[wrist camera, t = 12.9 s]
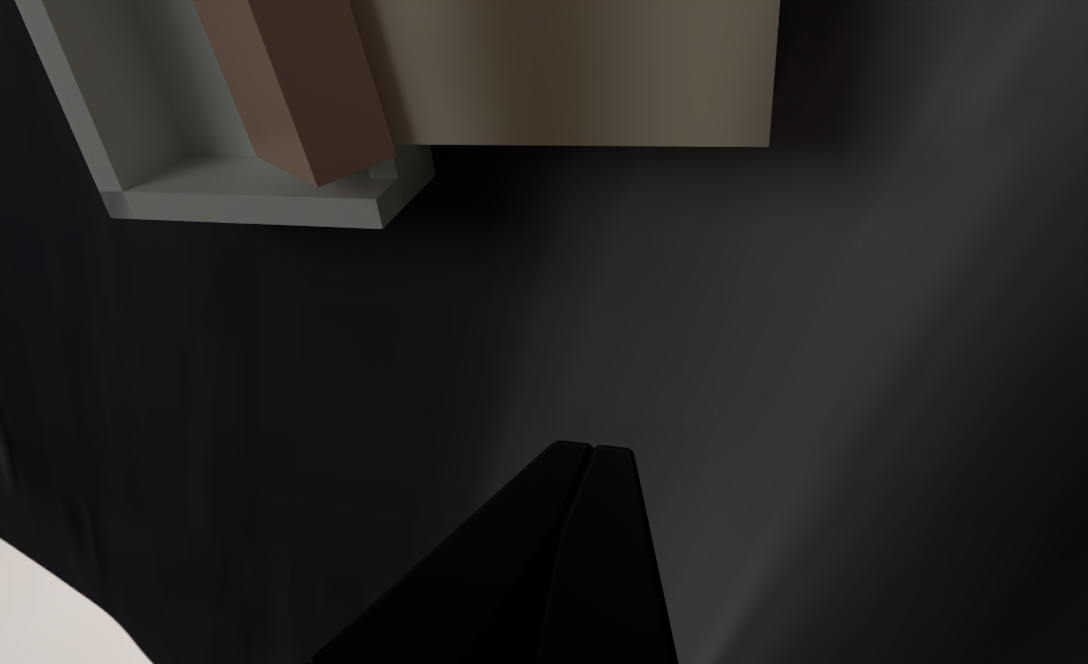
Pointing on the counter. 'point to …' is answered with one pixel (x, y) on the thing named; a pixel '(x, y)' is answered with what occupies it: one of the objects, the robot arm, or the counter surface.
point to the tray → (187, 124)
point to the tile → (300, 84)
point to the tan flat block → (573, 71)
